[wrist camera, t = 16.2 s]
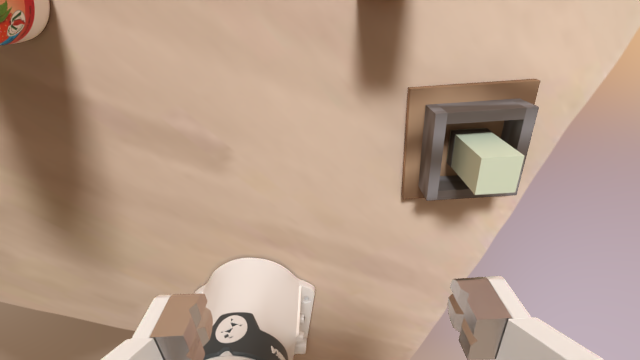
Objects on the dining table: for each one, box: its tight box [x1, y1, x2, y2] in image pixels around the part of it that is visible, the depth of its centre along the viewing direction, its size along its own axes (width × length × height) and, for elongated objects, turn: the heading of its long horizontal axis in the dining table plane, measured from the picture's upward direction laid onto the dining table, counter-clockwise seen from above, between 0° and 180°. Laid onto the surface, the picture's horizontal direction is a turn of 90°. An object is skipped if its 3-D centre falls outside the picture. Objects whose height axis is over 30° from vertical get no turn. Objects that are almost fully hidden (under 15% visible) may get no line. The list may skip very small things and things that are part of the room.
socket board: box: [402, 79, 540, 201], centre depth 37 cm, size 14×14×4 cm
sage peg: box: [447, 128, 524, 195], centre depth 35 cm, size 4×4×8 cm
